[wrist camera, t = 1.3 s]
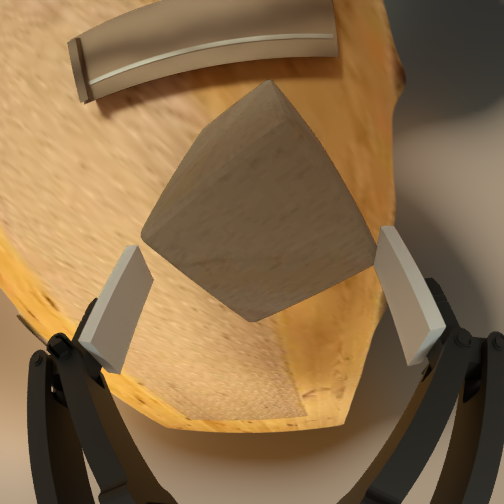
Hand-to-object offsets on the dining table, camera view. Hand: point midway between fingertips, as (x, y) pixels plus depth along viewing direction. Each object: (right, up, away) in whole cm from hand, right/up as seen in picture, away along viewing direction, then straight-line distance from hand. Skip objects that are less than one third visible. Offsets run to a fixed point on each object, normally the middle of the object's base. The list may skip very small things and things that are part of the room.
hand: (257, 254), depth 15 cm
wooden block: (+1, +13, +15) cm, 20 cm away
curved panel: (-6, +23, +7) cm, 25 cm away
